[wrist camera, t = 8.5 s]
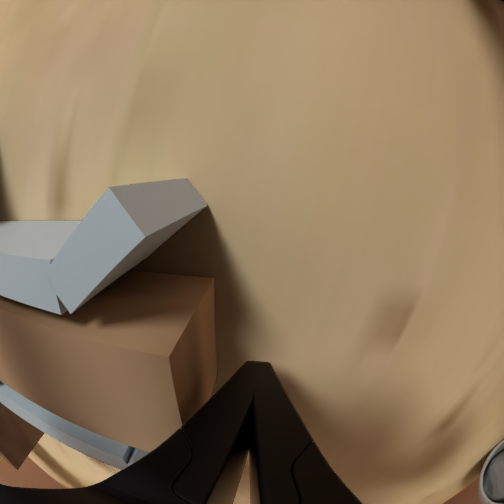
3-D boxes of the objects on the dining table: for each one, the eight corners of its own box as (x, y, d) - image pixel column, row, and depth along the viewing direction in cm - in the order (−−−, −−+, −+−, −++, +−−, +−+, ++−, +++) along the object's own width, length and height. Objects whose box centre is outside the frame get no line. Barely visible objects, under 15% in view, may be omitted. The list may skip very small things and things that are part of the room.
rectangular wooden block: (214, 277, 8) (169, 356, 5) (217, 375, 10) (191, 462, 6) (14, 256, 9) (-46, 286, 5) (33, 330, 10) (-14, 370, 6)
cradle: (208, 178, 8) (143, 185, 4) (216, 430, 11) (198, 501, 7) (-7, 194, 8) (-67, 210, 5) (38, 375, 11) (2, 412, 8)
